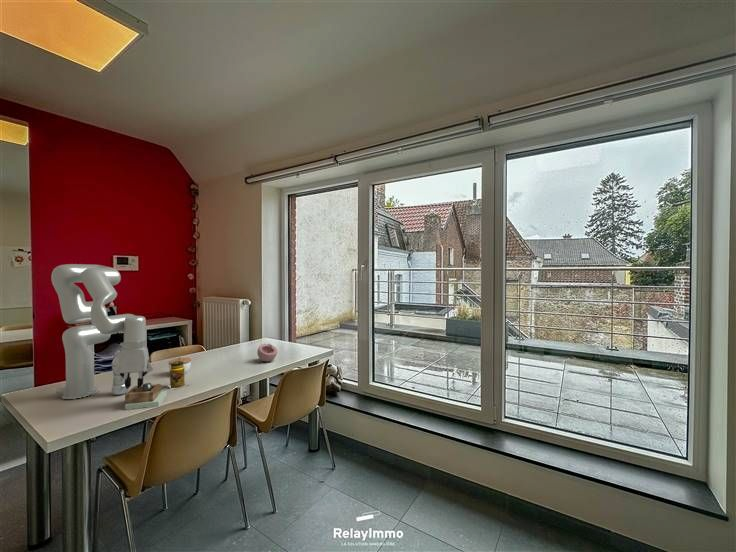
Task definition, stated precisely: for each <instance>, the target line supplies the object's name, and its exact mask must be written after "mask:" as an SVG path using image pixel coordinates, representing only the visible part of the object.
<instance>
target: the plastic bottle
mask: <svg viewBox="0 0 736 552" xmlns="http://www.w3.org/2000/svg"><path fill="white" fill-rule="evenodd" d="M120 352H121V349H119V350H116V351H115V353H114V356H115V357H114V358H113V360H112V362H111V369H112V374H113V375H112V377H113V378H112V385H111V393H112V395H115V396H118V395H123V394H126V393H128V392H129V391H130V387H129V388H128V389H126V386H125V379H124V378H123V377H122V376H120V375H119V374H116V373H115V371H116V370H117V368H118V365H119V357H120Z"/></svg>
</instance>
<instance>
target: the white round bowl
mask: <svg viewBox="0 0 736 552" xmlns="http://www.w3.org/2000/svg"><path fill="white" fill-rule="evenodd" d="M177 361H182V362H183V365H184V366H183V367H184V376H185V375H187V373H188V372H189V371H190V369H191V367H192V366H191V365H192V359H191V358H190V357H182V356H179V357H177V358H173V359H170V360H169V361H168V369H169V371H170V369H171V363H173V362H177Z"/></svg>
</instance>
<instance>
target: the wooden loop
mask: <svg viewBox="0 0 736 552" xmlns="http://www.w3.org/2000/svg"><path fill="white" fill-rule="evenodd" d="M161 389H162V384H161V383H155V384H151V391H147V392H143V385H142V386H141V387H140V388H137V385H135V386H133V387H132V388H130V389H129V390H128V392H126V393H124V394H125V396H124V400H125V401H124V402H125V403H124V405H126V404H132V403H142V402H152V401H154V400H155V399H156V397H157V396H158V395H159V394H160V393H161V392H162V390H161Z"/></svg>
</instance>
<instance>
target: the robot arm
mask: <svg viewBox="0 0 736 552" xmlns="http://www.w3.org/2000/svg"><path fill="white" fill-rule="evenodd" d="M50 278H51V283H52V286H53V288H54V290H55V292H56V294H57V296H58V297H57V298H58V300H59V301H58V302H59V305H60V306H59V307H60V311H61V315H62V319H63V321H64V322H65V323H66V324H69V325H72V324H73V325H74V324H76V325H77V324H82V323H89V322H90V323H91V324H85V325H84V324H83V325H77V326H73V327H72V326H71V327H70V328H67V329H66V330H65V331H63V333H62V336H61V337H62V338H61V339H62V344H63V348H64V353H65V386H58V387H56V388H55V393H56V394H57V393H58V394H59V393H63V394H61V399H62V398H63V399H62V400H64V399H73V400H77V399H76V398H80V399H82V398H81V397H84V398H87V397H86V396H88V397H90V396H89V395H91V396H93V395H95V393H96V394H97V393H98V392H99V388H98V386H96V387H95V357H94V355H95V354H94V352H93V351H92V350H91V349H90V348H89V347H88V346H91V345H96V344H101V343H104V342H107V341H108V340H110V338H111V335H114V334H118V333H123V342H120V343H119V346H120V347H123V348H121V349H120V350H121V352H120V357H119V365H118V368H117V370H116V371H115V373H116V374H119V375H120V376H122V377H123V378H124V379H125V386H126V389H128V388H129V389H130V387H131V386H132V377H130V375H131V374H133V373H137V374H138V378H137V385H136V386H137V388H140V387H141V386H142V385H143V384H144V377H145V376H146V375H147V374H149V373H150V372H152V371H153V370H154V368H153V367H152V366H151V364H150V357H149V355H150V354H149V349H148V347H147V346H146V335H147V333H146V329H147V325H146V324H147V323H146V322H147V320H146V317H145V316H143V315H135V314H132V313H124V314H115V315H108V309H107V308H106V305H107V304H109V303H110V302H112V301H114V300H115V299H116V298H117V296H118V292H117V291H116V289H115V288H114V286H116V285H118V284H119V283H120V282H121V280H122V279H121V278H122V277H121V274H120V272H119V271H118V270H117V269H116V268H113V267H111V266H105V265H101V264H84V263H83V264H82V263H79V264H77V263H74V264H73V263H70V264H69V263H68V264H67V263H66V264H60V265H57V266H56V267H55V268H53V270H52V272H51V277H50ZM75 283H82V285H84V287H85V289H86V290H87V292H88V294H89V295H90V297H91V298H92V300H91V301H86V298H85V294H84V292H83V290H82V289H81V288H80V286H78V285H77V284H75ZM92 394H93V395H92Z"/></svg>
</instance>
